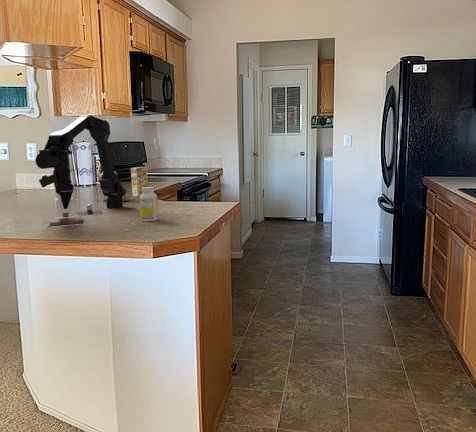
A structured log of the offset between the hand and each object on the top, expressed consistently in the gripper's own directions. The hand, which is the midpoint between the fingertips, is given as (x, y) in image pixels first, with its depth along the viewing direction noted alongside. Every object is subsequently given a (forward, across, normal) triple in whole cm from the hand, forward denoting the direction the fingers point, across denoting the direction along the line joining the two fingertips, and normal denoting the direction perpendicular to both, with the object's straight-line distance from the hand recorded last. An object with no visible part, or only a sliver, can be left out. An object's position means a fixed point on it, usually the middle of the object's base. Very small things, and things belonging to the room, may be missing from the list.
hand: (65, 207), depth 184 cm
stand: (+6, -13, +10) cm, 17 cm away
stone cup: (+6, -53, +25) cm, 59 cm away
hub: (+6, 0, 0) cm, 6 cm away
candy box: (+6, -69, +42) cm, 81 cm away
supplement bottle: (+6, +11, +30) cm, 32 cm away
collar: (+2, 0, 0) cm, 2 cm away
